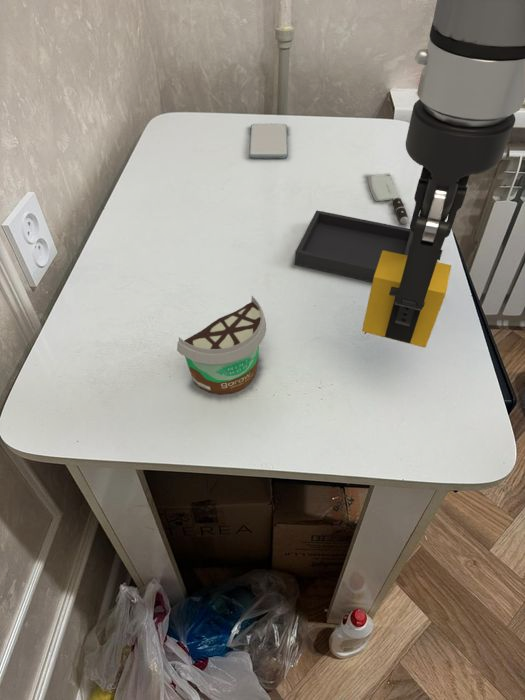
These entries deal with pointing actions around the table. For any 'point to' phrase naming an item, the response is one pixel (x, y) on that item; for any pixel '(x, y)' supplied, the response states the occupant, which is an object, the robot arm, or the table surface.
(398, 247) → the black shallow rectangular tray
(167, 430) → the table surface
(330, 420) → the table surface
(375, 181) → the cleaver
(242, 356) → the food container
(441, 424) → the table surface
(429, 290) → the yellow block
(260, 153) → the rounded grey tile
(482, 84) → the robot arm
